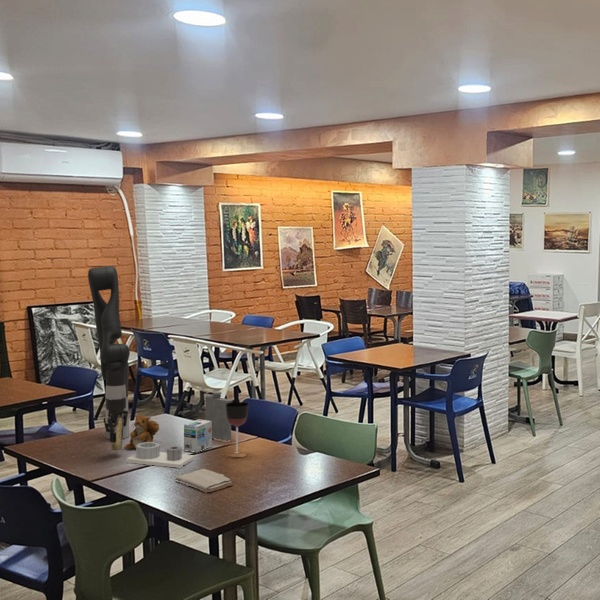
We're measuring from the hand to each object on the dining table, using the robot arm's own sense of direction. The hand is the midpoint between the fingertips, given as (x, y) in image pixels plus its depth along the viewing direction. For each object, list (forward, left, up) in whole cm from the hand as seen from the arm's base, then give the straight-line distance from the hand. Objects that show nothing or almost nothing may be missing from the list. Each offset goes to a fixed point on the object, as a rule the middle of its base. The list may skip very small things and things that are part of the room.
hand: (116, 440), depth 263 cm
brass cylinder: (0, 0, -3) cm, 3 cm away
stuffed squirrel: (-16, +2, -7) cm, 17 cm away
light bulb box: (-19, +25, -7) cm, 32 cm away
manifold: (0, +19, -6) cm, 20 cm away
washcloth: (+17, +45, -7) cm, 49 cm away
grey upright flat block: (-36, +26, -7) cm, 45 cm away
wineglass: (-16, +43, -7) cm, 46 cm away
